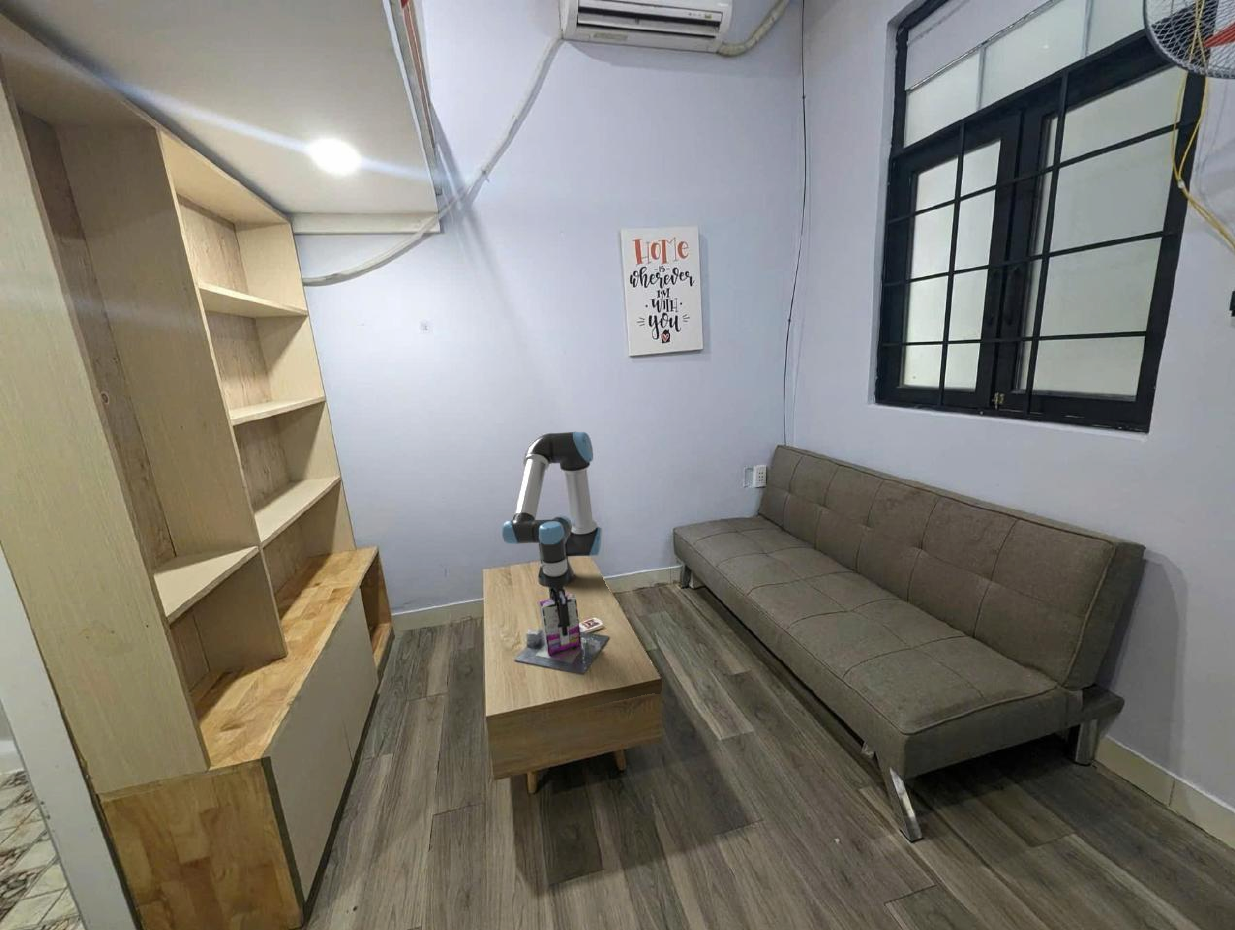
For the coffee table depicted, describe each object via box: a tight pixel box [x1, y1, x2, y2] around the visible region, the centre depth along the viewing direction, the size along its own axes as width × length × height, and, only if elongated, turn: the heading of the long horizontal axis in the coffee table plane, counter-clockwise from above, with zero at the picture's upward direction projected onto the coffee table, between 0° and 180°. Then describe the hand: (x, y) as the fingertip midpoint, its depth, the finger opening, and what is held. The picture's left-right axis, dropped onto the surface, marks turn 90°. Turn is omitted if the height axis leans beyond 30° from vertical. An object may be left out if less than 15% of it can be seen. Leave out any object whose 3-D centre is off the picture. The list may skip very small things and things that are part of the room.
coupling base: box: [513, 628, 610, 675], centre depth 155 cm, size 26×20×5 cm
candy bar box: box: [539, 592, 581, 655], centre depth 154 cm, size 11×5×16 cm, turn 113°
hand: (562, 638), depth 155 cm, fingers open, 6 cm apart
